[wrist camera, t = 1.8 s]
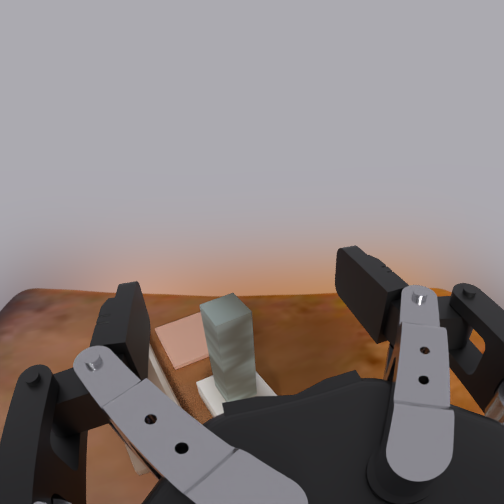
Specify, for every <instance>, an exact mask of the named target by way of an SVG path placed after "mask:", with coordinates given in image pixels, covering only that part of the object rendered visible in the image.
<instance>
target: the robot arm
mask: <svg viewBox="0 0 504 504" xmlns="http://www.w3.org/2000/svg"><path fill="white" fill-rule="evenodd" d="M335 287H336V291H337V293H338V295H339V297H340V298H341V299H342V300H343V302H344V303H345V304H346V305H347V307H348V308H349V309H350V310H351V312H352V313H353V314H354V315H355V317H356V318H357V319H358V321H359V322H360V323H361V324H362V326H363V327H364V328H365V329H366V331H367V332H368V333H369V335H370V336H371V337H372V338H373V340H374V341H375V342H376V344H378V343H381V342H384V341H387V340H388V341H389V342H390V344H389V347H388V352H387V359H386V365H385V371H384V377H383V379H375V378H360V376H359V375H358V373H357V372H356V370H353V371H350V372H347V373H344V374H341V375H337V376H334V377H331V378H327V379H325V380H323V381H321V382H319V383H317V384H315V385H314V386H312V387H310V388H308V389H306V390H304V391H302V392H300V393H298V394H295V395H285V396H255V397H251V398H246V399H241V400H235V401H230V402H224V403H222V406H223V411H224V413H222V414H220V415H217V416H215V417H213V418H212V419H210V420H208V421H207V422H205V423H204V424H203V425H202V424H201V423H199V422H198V421H197V420H195V419H194V418H193V417H192V416H190V415H189V414H188V413H187V412H186V411H184V410H183V409H182V408H181V407H179V406H178V405H177V404H176V403H175V402H174V401H172V400H171V399H170V398H169V397H168V396H167V395H165V394H164V393H163V392H162V391H161V390H160V389H159V388H158V387H156V386H155V385H154V384H153V383H152V382H151V381H150V380H148V362H149V344H150V320H149V315H148V312H147V309H146V305H145V302H144V299H143V295H142V292H141V288H140V285H139V283H138V282H137V281H136V282H130V283H123V284H119V286H118V289H117V292H116V296H115V298H109V299H108V300H107V301H106V302H105V303H104V304H103V305H102V307H101V309H100V312H99V317H98V319H97V322H96V323H97V325H96V326H95V329H94V333H93V336H92V340H91V343H90V347H89V348H87V349H85V350H83V351H82V352H81V353H79V354H78V356H77V357H76V358H75V360H74V364H73V368H70V369H68V370H65V371H62V372H59V373H56V374H53V373H52V372H51V370H50V369H49V368H48V367H47V366H45V365H34V366H31V367H29V368H28V369H26V370H25V371H24V372H23V373H22V374H21V375H20V377H19V378H18V381H17V384H16V387H15V390H14V393H13V397H12V400H11V403H10V407H9V411H8V414H7V418H6V422H5V426H4V430H3V434H2V438H1V443H0V504H86V454H87V434H88V430H90V429H93V428H96V427H99V426H102V425H105V424H109V425H110V426H111V427H112V429H113V430H114V431H115V432H116V433H117V435H118V436H119V437H120V438H121V439H122V441H123V442H124V443H125V444H126V445H127V446H128V447H129V449H130V450H131V451H132V452H133V453H134V454H135V455H136V456H137V458H138V459H139V460H140V461H141V462H142V463H143V464H144V466H145V467H146V468H147V469H148V470H149V471H150V472H151V473H152V474H153V475H154V476H155V477H156V478H157V479H158V480H159V481H158V482H157V484H156V485H155V487H154V488H153V489H152V491H151V492H150V493H149V495H148V496H147V497H146V499H145V500H144V501H143V503H142V504H504V310H503V309H502V308H501V307H500V306H498V305H497V304H496V303H495V302H494V301H493V300H492V299H490V298H489V297H488V296H487V295H486V294H485V293H483V292H482V291H481V290H480V289H479V288H477V287H475V286H473V285H470V284H466V283H460V284H457V285H455V286H454V287H453V291H452V294H451V296H442V297H437V296H436V294H435V293H434V292H433V291H432V290H431V289H429V288H427V287H424V286H420V285H411V286H409V285H408V284H407V283H405V281H403V280H402V279H401V278H400V277H399V276H398V275H396V274H395V273H394V272H392V270H391V269H390V268H388V267H386V265H385V264H384V263H383V262H381V261H380V260H379V259H377V258H375V257H372V256H370V255H367V254H365V253H364V252H363V251H362V250H361V249H360V248H358V247H357V246H350V247H344V248H340V249H338V251H337V259H336V274H335ZM473 329H474V330H475V331H476V332H477V333H478V334H479V335H480V336H481V337H482V338H483V339H484V342H485V352H484V354H482V353H481V352H480V351H479V350H478V349H477V348H476V347H475V345H474V344H473V343H472V342H471V341H470V340H469V338H470V335H471V333H472V330H473ZM449 367H450V368H451V370H452V371H453V372H454V373H455V375H456V376H457V377H458V379H459V380H460V381H461V382H462V384H463V385H464V386H465V388H466V389H467V390H468V392H469V393H470V394H471V396H472V397H473V398H474V400H475V401H476V402H477V404H478V405H479V407H480V408H481V409H482V411H483V412H484V413H485V416H483V415H480V414H477V413H474V412H471V411H468V410H465V409H462V408H460V407H457V406H454V405H451V404H450V374H449Z"/></svg>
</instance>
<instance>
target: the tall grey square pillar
mask: <svg viewBox="0 0 504 504" xmlns="http://www.w3.org/2000/svg"><path fill="white" fill-rule="evenodd" d="M200 311H201V316H202V322H203V327H204V332H205V337H206V343H207V348H208V353H209V358H210V362H211V367H212V372H213V375H212V376H210V377H208V378H205V379H203V380H200V381H198V382H196V384H197V387H198V391H199V394H200V397H201V398H202V400H203V402H204V403H205V405H206V406H207V408H208V410H209V411H210V413H211V414H212V416H213V417H215V416H217V415H220V414H222V413H224V411H223V406H222V403H224V402H230V401H235V400H241V399H246V398H251V397H255V396H277V395H276V394H275V393H274V392H273V390H272V389H271V388H270V387H269V386H268V385H267V383H266V382H265V381H264V380H263V379H262V378H261V377H260V375H259V374H258V373H257V372H256V371H255V355H254V339H253V323H252V311H251V310H250V309H249V308H248V307H247V306H246V305H245V304H244V303H243V302H242V301H241V300H240V299H239V298H238V297H237V296H236V295H235V294H234V293H231V294H228V295H225V296H223V297H220V298H217V299H214V300H212V301H209V302H206V303H203V304H201V305H200Z"/></svg>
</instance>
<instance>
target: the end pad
mask: <svg viewBox="0 0 504 504" xmlns="http://www.w3.org/2000/svg"><path fill="white" fill-rule="evenodd" d="M155 331H156V333H157V335H158V337H159V339H160V341H161V343H162V345H163V347H164V349H165V351H166V353H167V355H168V357H169V359H170V361H171V363H172V365H173V367H174V368H175V370H176V369H178V368H181V367H184V366H186V365H189V364H191V363H194V362H196V361H199V360H201V359H204V358H206V357H209V353H208V348H207V343H206V337H205V332H204V327H203V322H202V316H201V312H199V313H196V314H194V315H191V316H188V317H185V318H183V319H180V320H177V321H174V322H171V323H169V324H166V325H163V326H160V327H157V328H155Z"/></svg>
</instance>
